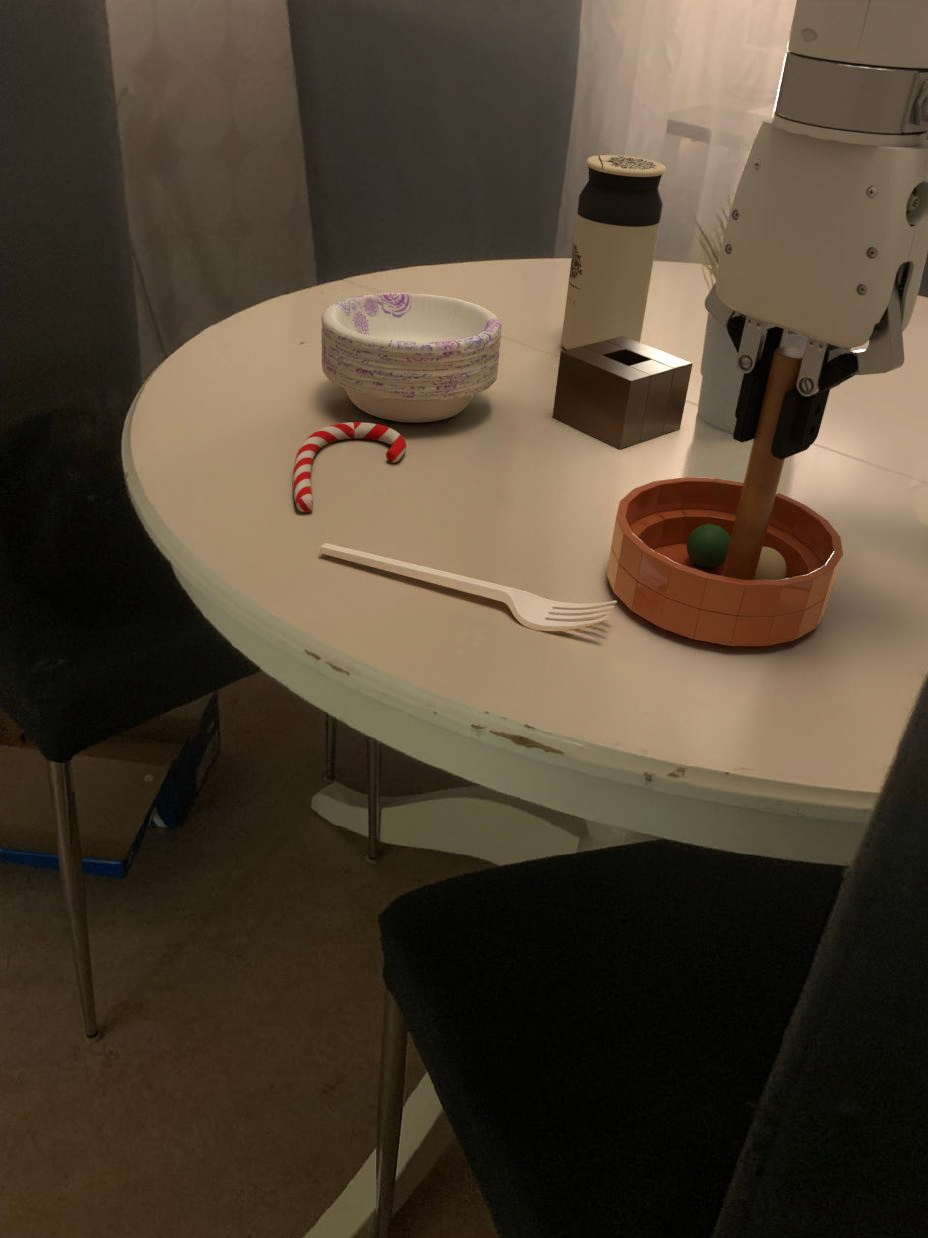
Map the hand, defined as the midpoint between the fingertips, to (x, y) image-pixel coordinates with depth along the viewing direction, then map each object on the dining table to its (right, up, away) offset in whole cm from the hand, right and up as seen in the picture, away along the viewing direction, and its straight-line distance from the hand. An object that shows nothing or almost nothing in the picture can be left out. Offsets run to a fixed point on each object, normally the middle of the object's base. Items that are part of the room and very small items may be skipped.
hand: (771, 442), depth 63 cm
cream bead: (+1, -7, +7) cm, 10 cm away
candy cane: (-28, +1, +19) cm, 34 cm away
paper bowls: (-23, +8, +32) cm, 40 cm away
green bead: (-2, -6, +9) cm, 11 cm away
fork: (-18, -9, +6) cm, 21 cm away
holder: (-5, +7, +31) cm, 33 cm away
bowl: (-2, -9, +8) cm, 12 cm away
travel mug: (-4, +17, +48) cm, 51 cm away
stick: (-1, -9, +6) cm, 11 cm away
